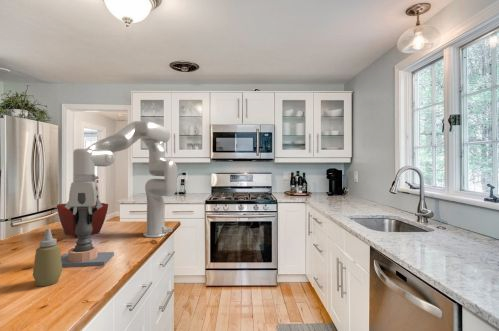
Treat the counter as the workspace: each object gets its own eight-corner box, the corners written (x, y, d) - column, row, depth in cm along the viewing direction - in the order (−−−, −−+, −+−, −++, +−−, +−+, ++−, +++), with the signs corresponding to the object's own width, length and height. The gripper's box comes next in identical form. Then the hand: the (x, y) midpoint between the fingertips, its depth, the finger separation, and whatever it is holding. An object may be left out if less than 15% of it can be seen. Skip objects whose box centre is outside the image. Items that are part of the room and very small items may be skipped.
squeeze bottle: (43, 278, 96) (43, 226, 96) (67, 277, 97) (67, 226, 97) (26, 288, 88) (26, 232, 88) (52, 288, 89) (53, 232, 89)
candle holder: (84, 256, 109) (84, 193, 109) (71, 254, 110) (71, 192, 110) (96, 251, 115) (96, 191, 115) (83, 250, 116) (83, 191, 116)
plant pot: (109, 233, 157) (109, 203, 157) (73, 240, 141) (73, 208, 141) (91, 228, 167) (91, 200, 167) (55, 235, 151) (55, 204, 151)
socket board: (113, 255, 120) (114, 243, 120) (104, 265, 108) (104, 252, 108) (63, 257, 117) (63, 245, 117) (47, 267, 105) (48, 254, 105)
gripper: (109, 178, 117) (108, 221, 118) (66, 178, 115) (66, 222, 115) (102, 179, 110) (102, 225, 110) (56, 179, 107) (56, 226, 108)
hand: (83, 223), depth 113 cm, fingers closed on candle holder, 4 cm apart
